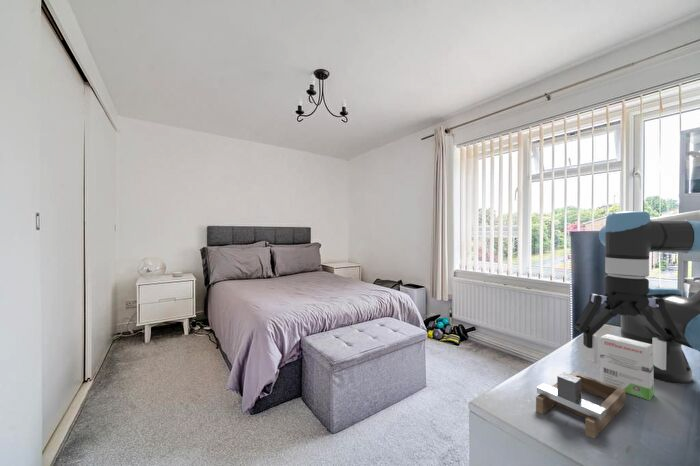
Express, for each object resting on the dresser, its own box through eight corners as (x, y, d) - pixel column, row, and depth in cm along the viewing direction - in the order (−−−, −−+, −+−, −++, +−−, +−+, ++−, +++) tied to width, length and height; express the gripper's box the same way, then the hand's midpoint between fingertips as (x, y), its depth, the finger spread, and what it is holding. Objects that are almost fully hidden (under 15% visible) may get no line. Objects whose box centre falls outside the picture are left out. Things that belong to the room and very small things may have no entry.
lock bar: (543, 388, 61) (543, 365, 61) (605, 414, 52) (605, 387, 52) (537, 392, 59) (537, 368, 59) (600, 420, 50) (600, 392, 50)
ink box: (654, 394, 64) (654, 343, 64) (649, 401, 61) (649, 348, 61) (606, 378, 71) (606, 332, 71) (599, 383, 69) (599, 336, 69)
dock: (573, 384, 68) (573, 371, 68) (625, 403, 60) (625, 390, 60) (536, 411, 58) (536, 396, 58) (593, 439, 50) (593, 422, 50)
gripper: (674, 276, 68) (673, 362, 67) (558, 271, 73) (557, 352, 73) (707, 281, 60) (705, 378, 60) (575, 275, 65) (574, 365, 65)
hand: (624, 364), depth 66 cm, fingers open, 13 cm apart
